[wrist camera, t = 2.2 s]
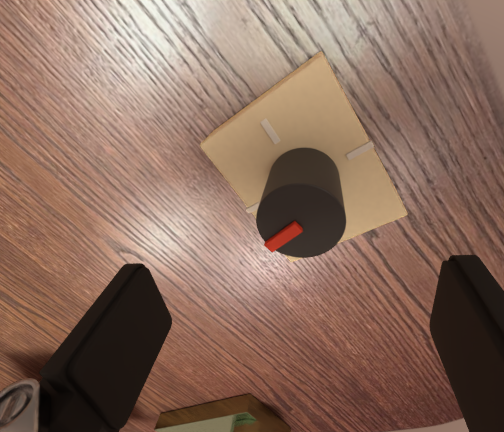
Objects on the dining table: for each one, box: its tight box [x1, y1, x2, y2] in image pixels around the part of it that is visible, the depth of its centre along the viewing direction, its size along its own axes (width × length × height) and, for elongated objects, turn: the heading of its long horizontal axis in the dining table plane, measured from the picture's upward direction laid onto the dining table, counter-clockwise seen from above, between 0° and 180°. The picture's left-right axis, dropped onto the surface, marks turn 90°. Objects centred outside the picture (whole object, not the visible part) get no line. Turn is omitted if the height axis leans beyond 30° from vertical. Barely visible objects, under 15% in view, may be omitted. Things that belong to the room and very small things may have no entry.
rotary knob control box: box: [200, 51, 408, 262], centre depth 18 cm, size 10×8×3 cm
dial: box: [256, 148, 346, 258], centre depth 15 cm, size 4×4×5 cm
